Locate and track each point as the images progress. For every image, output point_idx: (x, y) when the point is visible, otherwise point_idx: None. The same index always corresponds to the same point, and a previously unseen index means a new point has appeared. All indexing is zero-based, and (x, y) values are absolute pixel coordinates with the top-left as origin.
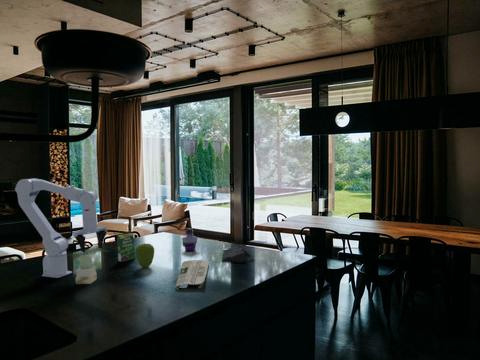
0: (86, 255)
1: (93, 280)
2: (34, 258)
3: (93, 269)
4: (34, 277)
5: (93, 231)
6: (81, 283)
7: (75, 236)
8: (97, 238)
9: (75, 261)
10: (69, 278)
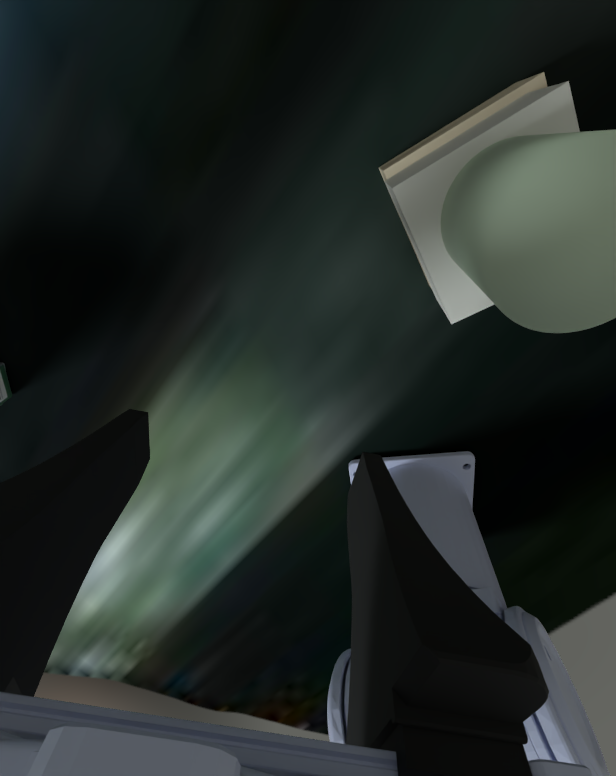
0: (573, 236)
1: (452, 122)
2: (275, 716)
3: (449, 147)
4: (492, 558)
5: (209, 746)
6: None
7: (583, 768)
8: (81, 580)
9: (197, 588)
10: (447, 385)
